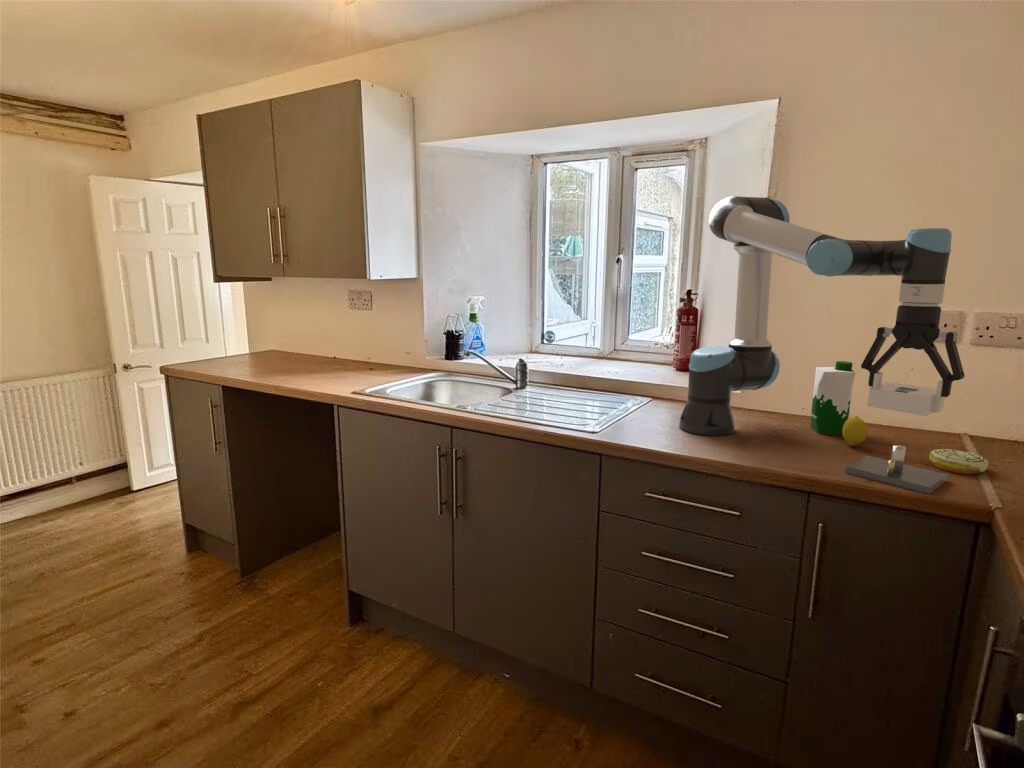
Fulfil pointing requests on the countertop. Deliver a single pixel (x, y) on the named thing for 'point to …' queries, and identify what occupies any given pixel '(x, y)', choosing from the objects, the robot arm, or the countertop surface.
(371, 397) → the countertop surface
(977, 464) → the decorated donut
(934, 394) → the white boxy piece
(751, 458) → the countertop surface
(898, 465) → the fixture
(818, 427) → the milk carton
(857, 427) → the lemon
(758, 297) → the robot arm
